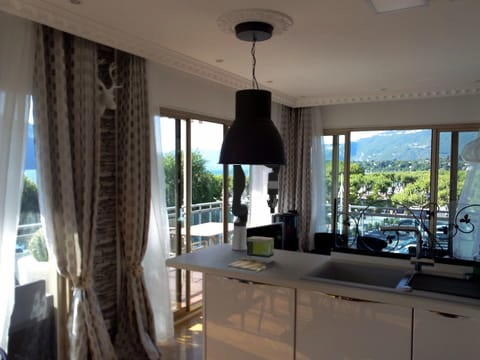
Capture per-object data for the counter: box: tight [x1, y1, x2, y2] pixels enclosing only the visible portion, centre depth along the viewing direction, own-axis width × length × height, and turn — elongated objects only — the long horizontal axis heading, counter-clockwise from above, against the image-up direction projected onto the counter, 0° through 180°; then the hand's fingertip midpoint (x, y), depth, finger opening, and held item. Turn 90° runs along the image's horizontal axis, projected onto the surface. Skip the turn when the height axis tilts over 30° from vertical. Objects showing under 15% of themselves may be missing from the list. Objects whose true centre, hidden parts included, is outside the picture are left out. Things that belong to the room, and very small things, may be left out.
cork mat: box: [227, 258, 268, 272], centre depth 243 cm, size 18×16×2 cm
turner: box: [254, 264, 273, 273], centre depth 236 cm, size 16×4×1 cm, turn 149°
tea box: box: [246, 235, 275, 264], centre depth 257 cm, size 15×10×15 cm, turn 63°
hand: (272, 213), depth 270 cm, fingers closed
